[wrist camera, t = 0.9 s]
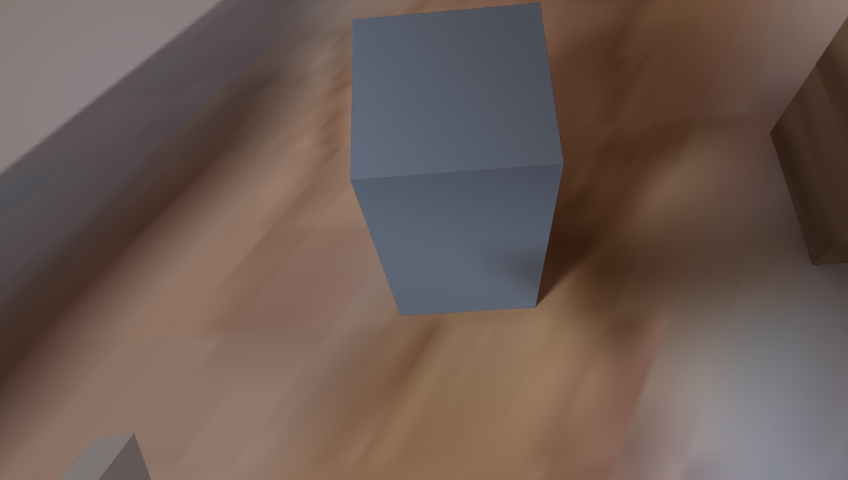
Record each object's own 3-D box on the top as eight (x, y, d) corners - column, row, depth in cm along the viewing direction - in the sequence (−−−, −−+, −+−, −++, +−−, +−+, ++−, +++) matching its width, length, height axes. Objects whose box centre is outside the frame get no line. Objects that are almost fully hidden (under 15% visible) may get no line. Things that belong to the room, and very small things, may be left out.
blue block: (400, 315, 29) (350, 179, 18) (398, 198, 32) (353, 19, 21) (535, 307, 29) (563, 163, 18) (521, 189, 31) (539, 2, 21)
